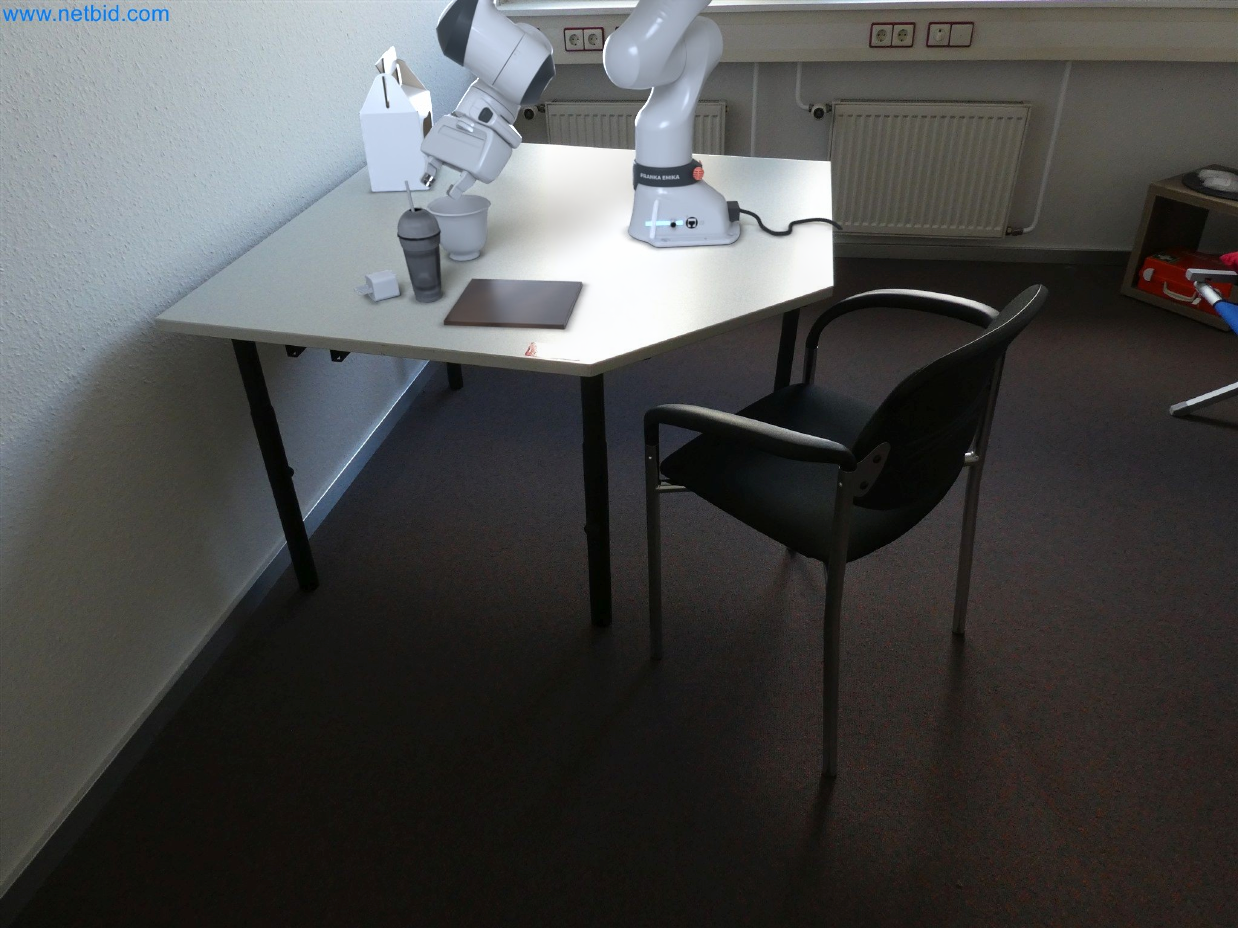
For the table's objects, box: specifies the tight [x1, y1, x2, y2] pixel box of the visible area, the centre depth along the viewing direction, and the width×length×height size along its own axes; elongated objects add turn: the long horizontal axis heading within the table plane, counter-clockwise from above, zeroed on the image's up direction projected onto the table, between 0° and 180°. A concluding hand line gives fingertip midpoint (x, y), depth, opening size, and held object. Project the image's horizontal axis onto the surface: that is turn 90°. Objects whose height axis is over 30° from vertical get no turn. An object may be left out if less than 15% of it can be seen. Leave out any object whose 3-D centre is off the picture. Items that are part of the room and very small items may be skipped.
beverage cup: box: [396, 181, 443, 303], centre depth 152 cm, size 7×7×20 cm
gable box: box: [358, 46, 435, 193], centre depth 210 cm, size 22×13×28 cm, turn 4°
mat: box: [443, 278, 583, 330], centre depth 154 cm, size 20×18×1 cm
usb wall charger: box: [353, 268, 400, 303], centre depth 156 cm, size 4×7×4 cm, turn 123°
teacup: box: [425, 194, 492, 262], centre depth 170 cm, size 12×15×10 cm
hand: (437, 191), depth 149 cm, fingers open, 8 cm apart
